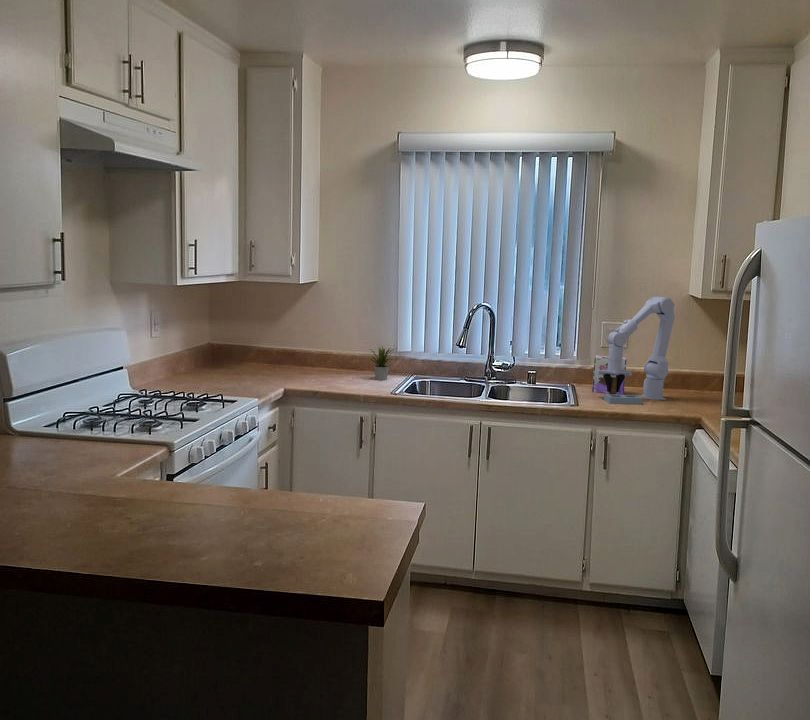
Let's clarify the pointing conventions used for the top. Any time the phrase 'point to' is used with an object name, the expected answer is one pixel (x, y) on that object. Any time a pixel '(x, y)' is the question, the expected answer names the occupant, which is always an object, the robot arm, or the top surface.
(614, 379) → the dowel
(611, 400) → the hole block
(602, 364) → the candy box
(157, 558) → the top surface
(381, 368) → the house plant
